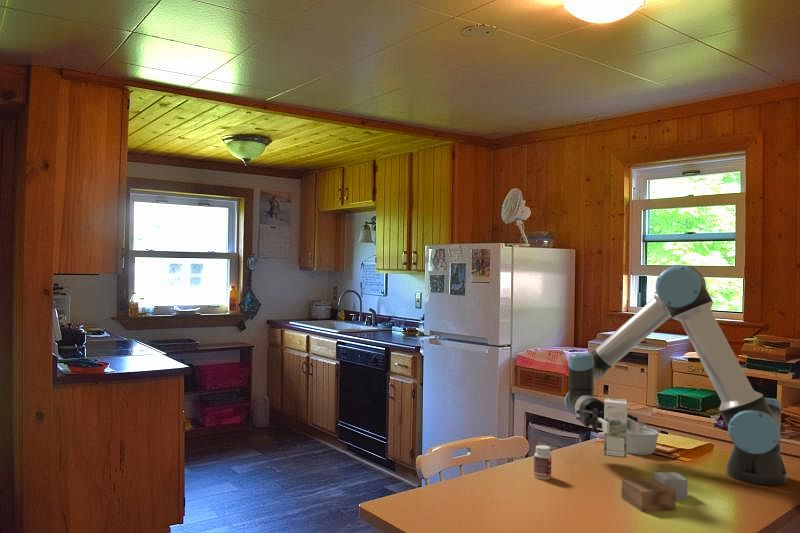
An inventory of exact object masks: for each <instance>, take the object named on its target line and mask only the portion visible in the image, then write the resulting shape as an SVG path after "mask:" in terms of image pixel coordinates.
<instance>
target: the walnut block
mask: <svg viewBox="0 0 800 533" xmlns="http://www.w3.org/2000/svg"><path fill="white" fill-rule="evenodd" d="M621 499H622V500H623V501H625V502H626V503H628V504H629V505H630V506H632V507H634V508H635V509H637V510H638V511H639V512H641V513H642V512H643V513H645V512H647V513H648V512H665V511H666V512H668V511H670V512H671V511H676V504H677V503H676V502H677V499H676V490H674V489H672V488H670V487H668V486H667V485H665V484H663V483H661V482H659V481H658V480H656V479H654V478H634V479H633V478H631V479H628V478H627V479H621Z"/></svg>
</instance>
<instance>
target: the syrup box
mask: <svg viewBox="0 0 800 533" xmlns="http://www.w3.org/2000/svg"><path fill="white" fill-rule="evenodd" d="M604 403H605V404H604V420H605V421H607V422H608V423H609V434H606V433H605V432H603V455H604V456H605V457H614V458H624V459H625V458H626V459H627V458H628V457H627V456H628V455H627V454H628V453H627V414H628V402H627V399H625V398H624V399H623V398H621V399H620V398H609V397H607V398H604Z"/></svg>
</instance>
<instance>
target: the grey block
mask: <svg viewBox="0 0 800 533" xmlns="http://www.w3.org/2000/svg"><path fill="white" fill-rule="evenodd" d="M653 479H656V480H658V481H659V482H661V483H663V484H665V485H667V486H668V487H670V488H672V489H674V490H676V500H688V483H689V482H688V479H687V478H686V477H683V475H681V474H679V473H677V472H668V471H667V472H661V471H660V472H657V471H656V472H653Z"/></svg>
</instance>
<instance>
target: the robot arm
mask: <svg viewBox="0 0 800 533" xmlns="http://www.w3.org/2000/svg"><path fill="white" fill-rule="evenodd" d="M706 283H707V282H706V279H705V278H704V276H703V274H702V273H701V272H700V271H698V270H697V269H696V268H693V267H692V266H691V267H690V266H687V265H681V264H678V265H677V264H675V265H673V266H669V267H668V268H665V269H664V270H662V271H661V272H660V274H659V275H658V276H657V278H656V282H655V291H654V297H653V298H652V299H651V300H650V301H648V303H646V304H645V305H644V306H643V307H642V308H640V309H639V310H637V312H636V313H635V314H634V315H633V316H631V317H630V318H629V319H627V321H625V322H624V323H623V324H622V325H621V326H619V328H617V330H615V331H614V332H613V333H612V334H611V335H610V336H609V337H608V338H606V339H605V340H604V341H603V342H602V343H601V344H599V345H598V346H597V347H596V348H595V349H594V350H593V351H591V352H590V353H589V352H571V353H570V354H569V357H568V364H567V366H568V388H567V389H568V392H567V393H566V394H565V397H564V405H565V407H566V409H567V410H568V411H569V412H570V413H571V414H572V415H575V417H576V418H575V419H576V420H578V421H579V422H580V423H582V425H583V426H584V427H586V428H589V427H590V426H591V428H592V431H597V430H600V431H602V432H603V433H604V432H605V433H606V434H609V423H608V422H607V421H605V420H604V404H605V401H603V400H600V399H598V398H596V397H595V395H594V390H595V389H594V388H595V385H594V383H595V380H597V379H601V378H602V377H603V376H605V375H606V373H607V372H608V371H609V370H610V369H611V368H612V367H614V365H615V364H617V363H619V361H620V360H621V359H622V358H624V357H625V356H626V355H628V353H630V352H631V351H632V350H633V349H634V348H636V347H637V346H638V345H639V344H641V343H642V342H643V341H644V340H645V339H646V338H647V337H649V336H650V335H651V334H652V333H653V332H655V330H657V329H658V328H659V327H661V326H662V325H663V324H664V323H665V322H667V321H668V320H669V319H670V318H671V319H673V320H675V321H677V322H680V323H681V326H682V328H683V329H684V331H685V334H686V335H687V337H688V339H689V342H690V343H691V345H692V347H693V349H694V351H695V352H696V355H697V357H698V358H699V360H700V363H701V364H702V366H703V368H704V370H705V372H706V374H707V376H708V378H709V380H710V382H711V384H712V386H713V387H714V390H715V392H716V393H717V396H718V397H719V400H720V401H721V402H720V406H719V408H718V410H719V412H720V414H721V416H722V418H723V420H724V422H725V424H726V425H727V426H726V427H727V433H728V436H729V438H730V440H731V441H732V443H733V448H732V450H731V453H730V456H729V458H728V461H727V463H726V474H727V475H728V476H730V477H731V478H733V479H736V480H740V481H743V482H747V483H752V484H757V485H764V486H765V485H766V486H782V485H785V484H787V483H788V473H787V470H786V467H785V464H784V461H783V459H782V455H781V425H782V423H781V422H782V421H781V420H782V419H781V418H782V405H781V404H782V403H781V401H780V400H779V399H777V398H772V397H771V398H769V397H764V395H763V393H761V392H758V391H755V390H754V388H753V387H752V384H751V382H750V381H749V379H748V378H747V375H746V374H745V372H744V370H743V368H742V366H741V364H740V362H739V361H738V358H737V357H736V355H735V353H734V350H733V349H732V347H731V345H730V344H729V343H730V342H728V340H727V338H726V336H725V334H724V332H723V331H722V328H721V326H720V324H719V323H718V321H717V318H716V317H715V315H714V313H713V311H712V307H713V304H714V300H713V299H712V297H711V296H710V292H708V289H707V284H706ZM639 426H640V423H639V420H638V417H637V416H635V415H632V414H630V413H627V429H629V430H630V431H632V432H634V433H636V434H639Z"/></svg>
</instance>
